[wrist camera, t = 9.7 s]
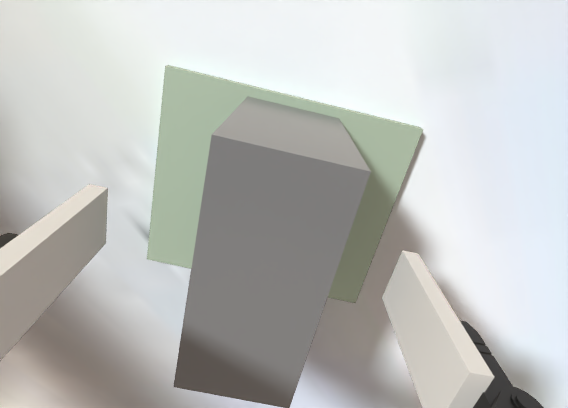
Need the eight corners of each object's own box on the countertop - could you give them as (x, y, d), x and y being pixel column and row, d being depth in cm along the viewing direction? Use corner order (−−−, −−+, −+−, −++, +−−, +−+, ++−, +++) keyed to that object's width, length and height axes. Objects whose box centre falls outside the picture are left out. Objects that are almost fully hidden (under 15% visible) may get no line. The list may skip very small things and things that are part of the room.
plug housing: (216, 267, 24) (173, 386, 15) (247, 96, 19) (211, 134, 11) (291, 282, 24) (289, 408, 16) (339, 118, 19) (370, 171, 11)
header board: (150, 254, 24) (110, 311, 19) (169, 65, 19) (123, 72, 14) (353, 297, 25) (369, 362, 20) (419, 127, 20) (462, 155, 15)
